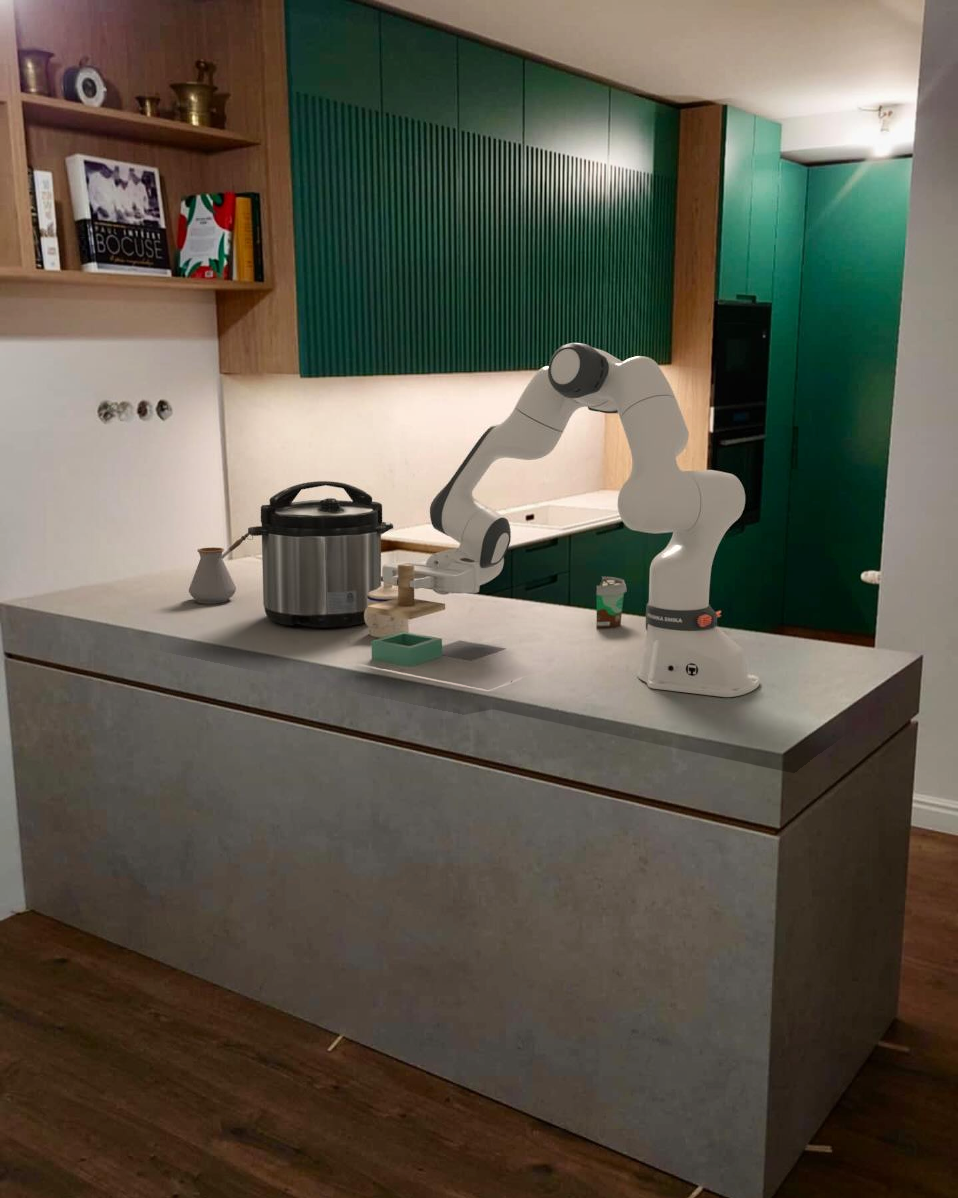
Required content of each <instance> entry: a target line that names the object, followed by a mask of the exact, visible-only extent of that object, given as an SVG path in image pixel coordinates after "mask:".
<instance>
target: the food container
mask: <svg viewBox="0 0 958 1198" xmlns="http://www.w3.org/2000/svg"><path fill="white" fill-rule="evenodd" d="M627 590H628V589H627V584H626V583H625V580H624V579H622V578H618V577H614V576H601V582H600V583H599V585H596V622H595V623H596V627H595V628H596V630H609V629H610V630H611V629H616V628H619V627H620V626H621V624H622V614H623V604H624V595H625V593H626V592H628V591H627Z"/></svg>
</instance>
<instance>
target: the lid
mask: <svg viewBox="0 0 958 1198" xmlns="http://www.w3.org/2000/svg"><path fill="white" fill-rule="evenodd" d="M410 579H414V565H413V564H400V565H398V586H397V587H398V598H397V599H393V600H389V601H385V602H381V603H378V604H374V605H370V606H367V612H369V613H375V614H381V615H387V616H392V617H398V618H404V619H408V620H414V619H418V618H421V617H424V616H428V615H431V614H435V613H438V612H441V611H444V610H446V603H442V602H436V601H430V600H425V599H419V598H415V589H413V588H410V586H409V585H410V583H409V581H410Z"/></svg>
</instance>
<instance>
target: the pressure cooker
mask: <svg viewBox="0 0 958 1198" xmlns="http://www.w3.org/2000/svg"><path fill="white" fill-rule="evenodd" d="M325 486H328V487H333V488H339V489H343V490H344V491H345V492H346V494H347V495H348V497H349V498H350V500H339V499H336V498H328V497H327V498H324V499H314V500H312V499H311V500H303V501H302V500H301V501H300V500H299V501H294V500H295V499H296V498H297V496H298V495H299V494H300V492H301V491H303V490H308V489H312V488H313V489H314V488H318V487H319V488H320V487H325ZM293 501H294V502H293ZM260 523H261V526H250V527H248V528H247V533H249V534H250V536H251V535H252V536H253V537H256V536H261V552H262V553H261V561H262V562H261V563H262V593H263V594H262V595H263V596H262V599H263V603H262V604H263V608H264V612H265V615H266V616H267V618H268V619H270V620H271V621H274V622H275V623H277V624H280V625H285V626H293V625H296V624H298V625H303V626H305V627H309V628H310V627H311V628H327V629H328V628H340V627H350V626H354V625H360V624H363V623H365V620H364V612H365V610H366V608H367V606H369V602H368V598H367V596H368V593H369V592H371V591H373V590H376V589H378V588H379V587H381V586H382V535H383V534H385V533H386V532H388V531H390V530H393V529H394V524H393V523H391V522H387V521H383V504H382V503H381V502H377V501H373V497H372V496H371V495H370V494H369V493H367V491H364V490H363V489H361V488H359V487H356V486H354V485H351V484H347V483H343V482H339V481H330V480H329V481H328V480H325V481H324V480H322V481H321V480H319V481H309V482H303V483H299V484H295V485H292V486H290V487H286V488H285V489H283V490H281V491H279V492H277V493H276V494H274V495H272V496H271V497H270V498H269V504H263V505H261V506H260ZM252 536H251V537H252Z"/></svg>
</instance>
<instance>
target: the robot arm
mask: <svg viewBox="0 0 958 1198" xmlns="http://www.w3.org/2000/svg"><path fill="white" fill-rule="evenodd" d="M534 374H535V375H534V376H533V377H532V378H531V380H530V381H529V383H527V386H526V387H525V388H524V390H523V392H522V394H521V395H520V397H519V398H518V400H517V402H516V404H515V407H514V408H513V409H512V411H511V413H510V414H509V416H508V417H507V418H506V419H505V420H504V421H502V422H501V423H500V424H494V425H491V426H490V427H488V428H487V430H485V432H483V434H482V435H481V436H480V438H479V439H478V440H477V442H476V443H475V444H474V445H473V447H472V448H471V450H470V451H469V453H468V454H467V455H466V457H465V459H464V460H463V461H462V463H461V464H460V466H459V467H458V468H457V470H455V473H454V474H453V476H452V477H451V478H450V480H449V481H448V483H447V484H446V485H445V486H444V487H443V488H442V489H441V490H440V491H439V492H438V493H437V494H436V495H435V497H434V498H433V500H432V501H431V503H430V506H429V517H430V522H431V525H432V527H433V529H435V530H436V531H437V532H440V533H442V534H444V535H446V536H448V537H450V538H451V539H453V540H455V541H456V542H458V543H459V546H458V547H457V548H452V549H448V550H444V551H443V550H442V551H438V552H435V553H432V554H431V555H430V556H429V557H428V559H427V560H426V562H425V563H423V562H415V561H398V562H392V563H386V564H384V565H383V566H382V567H381V579H382V581H383V583H384V582H385V583H392V585H393V586H396V587H398V565H400V564H413V565H414V579H410V581H409V583H410V585H409V586H410V588H413V589H414V590H418V589H425V590H432V591H433V592H434V593H436V594H439V595H440V596H441V595H442V596H443V595H444V596H445V595H449V594H476V593H479V592H480V586H481V585H485V584H487V583H489V582H491V581H492V580H493V579H495V578H496V577H498V576H499V575H500V573H502V570H503V567H504V563H505V558H504V557H505V555H506V554H507V551H508V549H509V548H510V547H509V546H510V543H511V538H512V536H511V535H512V534H511V533H512V532H511V530H512V529H511V526H510V521H509V520H508V518H506V517H504V516H503V515H502V514H500V513H499V512H497V511H495V510H494V509H492V508H491V507H488V505H486V504H484V503H482V502H481V501H479V500H478V499H476V498H475V497H474V496H473V491H474V489H475V488H476V487H477V485H478V483H480V481H481V479H482V478H483V476H484V475H485V473H487V471H488V469H490V467H491V465H492V464H494V462H496V461H498V460H499V459H503V458H504V459H505V458H508V459H515V460H525V461H533V460H539V459H542V458H544V457H546V456H548V455H549V454H551V452H552V451H553V450H554V449H555V448H556V446H557V444H558V443H559V441H560V439H561V437H562V435H563V433H564V431H565V429H566V427H567V425H568V423H569V421H570V419H571V417H572V416H573V414H574V413H575V411H576V410H578V409H581V408H584V407H586V408H587V409H588V410H589V411H591V412H592V411H593V412H598V413H599V412H600V413H604V414H618V417H619V419H620V422H621V425H622V427H623V431H624V434H625V437H626V440H627V442H628V443H627V444H628V446H629V449H630V454H631V460H632V461H631V462H632V463H631V471H630V473H629V477H628V479H626V481H625V482H624V483H623V485H622V487H621V488H620V490H619V493H618V497H617V511H618V514H619V517H620V519H621V522H623V524H624V526H626V527H627V528H628V529H629V530H631V531H636V532H641V533H648V534H665V533H666V534H667V533H672V536H671V538H670V540H669V542H668V543H667V545H666V547H665V548H664V549H663V550H661V552H659V553H658V554H656V556H655V557H654V558H653V559H652V560H651V563H650V566H649V584H648V588H649V589H648V602H647V603H646V610H645V631H646V636H645V645H644V651H643V656H642V661H641V664H640V668H639V671H638V673H637V677H638V678H639V679H640V680H641V681H643V682H644V683H646V685H647V687H648V688H649V689H654V690H663V691H670V692H681V693H688V694H689V693H690V694H696V695H703V696H710V697H711V696H713V697H722V698H733V697H738V696H743V695H747V694H748V693H750V692H752V691H754V690H756V689H757V688H758V687H759V686H760V678H759V677H758V676H757V675H754V674H749V669H748V661H747V656H746V653H745V650H744V649H743V647H741V646H740V645H738V644H737V643H736V642H735V641H734V640H732V639H731V638H730V637H729V636H728V635H727V634H726V633H725V632H723V630H721V629H720V628H719V627H718V626H717V625H718V618H720V617H722V615H721V613H722V610H718V611H715V610H714V609H713V608H712V607H711V605H710V604H709V602H710V601H709V600H710V587H711V585H710V584H711V573H712V565H713V562H714V558H715V555H716V552H717V550H718V547H719V545H720V543H721V541H722V539H723V538H724V536H725V533H726V532H727V531H728V530H729V529H730V527H731V526H732V525H733V524H734V523H735V522H736V521H738V520H739V518H741V516H742V514H743V511H744V509H745V506H746V505H745V504H746V493H745V488H744V486H743V484H742V482H741V481H740V479H739V477H737V476H736V475H735V474H733V473H729V472H724V471H720V470H714V469H702V470H701V469H700V470H699V469H698V470H684V471H683V470H681V468H680V467H679V466H678V463H677V462H678V461H677V458H678V456H679V455H680V454H681V453H683V451H684V450H685V449H686V447H687V445H688V442H689V436H690V433H689V429H688V426H687V424H686V422H685V419H684V416H683V414H682V411H681V408H680V406H679V403H678V401H677V398H676V395H675V393H674V391H673V388H672V387H671V384H670V383H669V380H668V378H667V377H666V376H665V374H664V372H663V370H662V369H661V367H660V366H659V364H658V363H657V362H656V361H655V360H654V359H652V358H651V357H647V356H644V355H643V356H640V355H638V356H637V355H636V356H633V357H629V358H627V359H625V360H621V359H619V358H617V357H615V356H614V355H612V354H610V353H608V352H607V351H604V350H602V349H600V348H599V349H598V348H597V347H592V346H590V345H589V344H586V343H580V342H571V343H570V342H569V343H565V344H563V345H561V346H560V347H558V349H556V351H554V353H553V355H552V356H551V357H550V360H549V363H548V365H546V366H543V367H541V368H540V369H539V370H537V372H536V373H534Z"/></svg>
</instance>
